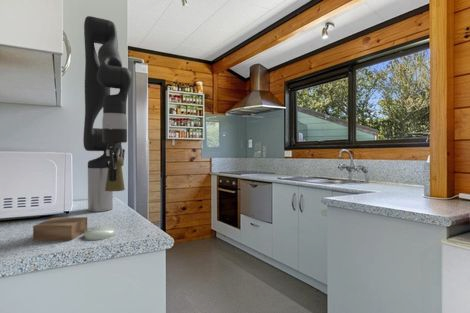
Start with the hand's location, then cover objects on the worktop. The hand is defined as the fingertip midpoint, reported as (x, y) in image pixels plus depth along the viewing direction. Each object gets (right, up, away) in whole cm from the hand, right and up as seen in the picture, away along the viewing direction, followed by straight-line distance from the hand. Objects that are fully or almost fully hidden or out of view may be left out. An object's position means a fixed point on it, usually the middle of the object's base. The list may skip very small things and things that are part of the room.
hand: (114, 179), depth 98 cm
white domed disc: (+1, -15, -13) cm, 20 cm away
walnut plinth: (-10, -15, -13) cm, 22 cm away
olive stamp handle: (0, -4, 0) cm, 4 cm away
